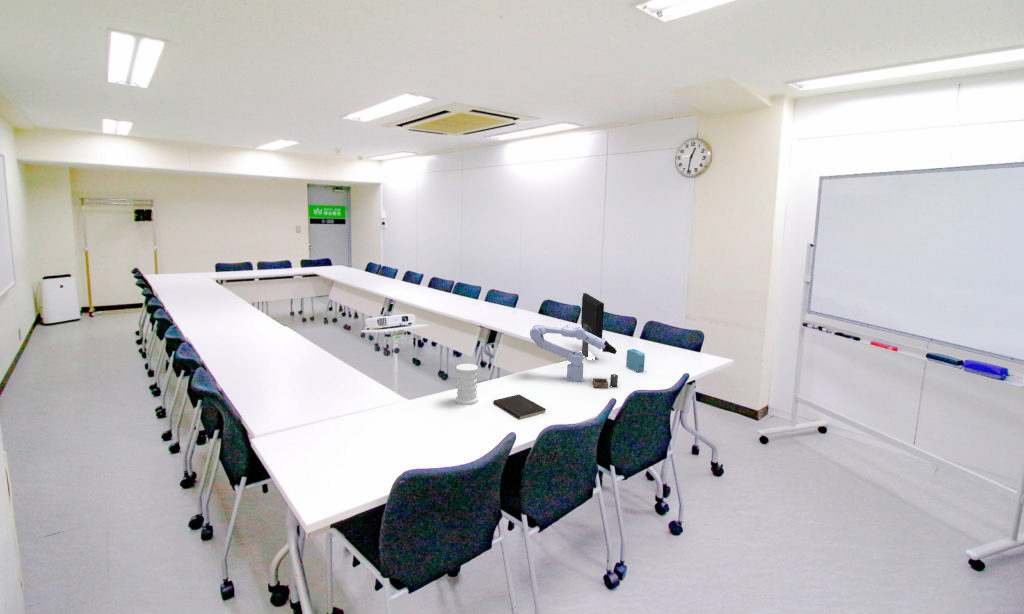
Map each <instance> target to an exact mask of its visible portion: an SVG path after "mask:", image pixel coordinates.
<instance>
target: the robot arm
mask: <svg viewBox="0 0 1024 614" xmlns="http://www.w3.org/2000/svg"><path fill="white" fill-rule="evenodd" d="M546 334H557V335H561V336H562V337H565V338H575V339H576V340H579V341H580V340H581V341H585V342H587V343H588V345H591V346H593V347H595V348H596V349H598V350H602V353H610V354H613V355H616V354H617V352H618V351H617V349H616V347H614V346H612V344H610V343H609V342H608V341H607V340H606V338H605V337H603V338H602V339H601V338H599V337H597V336H595V335H593V334H591V333H589V332H587V331H584V329H583V328H582V327H580V326H579V327H577V326H576V327H573V326H572V327H571V326H568V325H566V326H563V327H557V326H556V327H555V326H551V325H544V324H541V325H539V324H535V325H533V327H532V328H531V329H530V331H529V336H530V339H531V340H532V341H533V342H534V343H535V345H536V346H537V347H538V348H541V349H543V350H545V351H546V352H547V351H548V352H549V353H552V354H554V355H557V356H559V357H561V358H564V359H566V360H567V361H568V362H570V363H568V364H566V365H567V368H566V370H567V371H566V380H567V382H585V379H584V363H583V360H584V357H583V354H582V353H581V352H579V351H575V350H569V349H567V348H564V347H562V346H560V345H558V344H555V343H552V342H551V341H548V340H546V339H545V338H544V335H546Z"/></svg>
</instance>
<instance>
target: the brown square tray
mask: <svg viewBox="0 0 1024 614" xmlns="http://www.w3.org/2000/svg"><path fill="white" fill-rule="evenodd" d="M592 385H594V386H593V388H594V389H609V382H608V379H607V378H594V377H593V378H592Z"/></svg>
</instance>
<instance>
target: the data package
mask: <svg viewBox="0 0 1024 614" xmlns="http://www.w3.org/2000/svg"><path fill="white" fill-rule="evenodd" d="M645 359H646V355H645V353H644V352H643V351H640V350H638V349H635V348H631V349H627V351H626V365H625V366H626V368H627V367H628V368H627V369H629V368H630V369H629V370H631V369H632V370H631V371H633V370H634V371H633V372H635V371H637V372H636V373H641V372H640V371H642V372H644V371H645Z"/></svg>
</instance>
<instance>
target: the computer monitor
mask: <svg viewBox="0 0 1024 614" xmlns="http://www.w3.org/2000/svg"><path fill="white" fill-rule="evenodd" d="M581 299H582V300H581V316H580V317H581V318H580V319H581V320H580V325H581V328H583V329H584V331H587V332H589V333H591V334H593V335H595V336H597V337H599V338H601V339H603V329H604V311H605V310H604V309H605V303H604V302H602V301H600V300H599V299H598V298H595V297H593V295H590V294H589V293H586V292H583V294H582V298H581ZM581 341H582V342H581V343H582V344H581V345H582V346H581V348H582V349H581V351H582V354H583V356H585V357H588V351H589V343H587V342H585V341H583V340H581ZM592 360H593V359H592ZM595 360H597V361H599V360H600V359H599V358H598V356H596V357H595Z"/></svg>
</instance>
